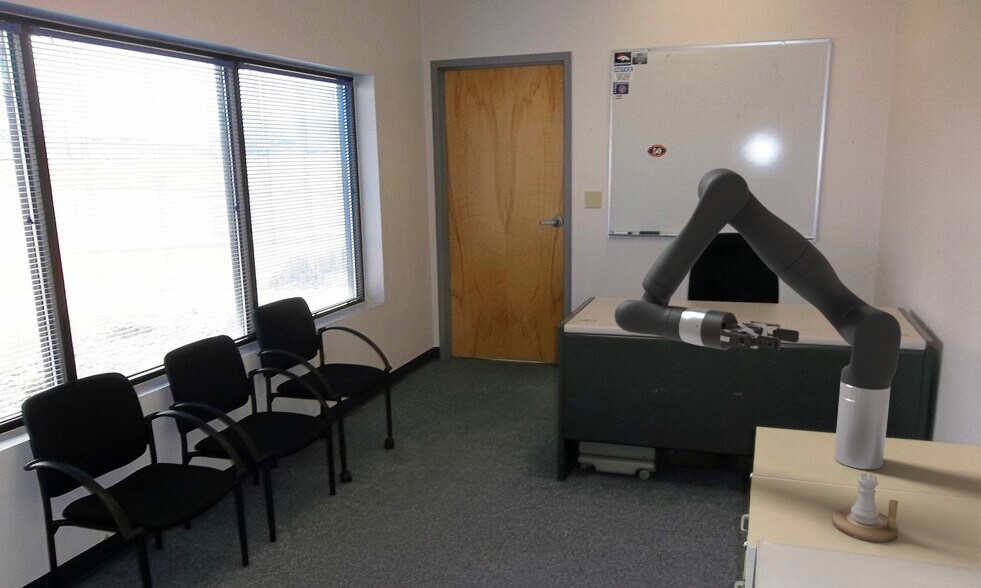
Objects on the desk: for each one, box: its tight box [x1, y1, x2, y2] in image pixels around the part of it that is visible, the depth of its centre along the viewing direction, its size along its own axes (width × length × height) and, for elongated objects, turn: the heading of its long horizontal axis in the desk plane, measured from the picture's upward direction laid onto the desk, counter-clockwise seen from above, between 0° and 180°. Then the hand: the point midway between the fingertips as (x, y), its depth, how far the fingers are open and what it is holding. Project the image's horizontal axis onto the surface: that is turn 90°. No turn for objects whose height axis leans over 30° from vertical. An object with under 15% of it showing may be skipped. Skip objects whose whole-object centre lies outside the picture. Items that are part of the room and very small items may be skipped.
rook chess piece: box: [850, 472, 880, 525], centre depth 119 cm, size 4×4×8 cm
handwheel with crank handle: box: [831, 499, 900, 543], centre depth 119 cm, size 10×10×6 cm
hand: (789, 340), depth 128 cm, fingers open, 8 cm apart
